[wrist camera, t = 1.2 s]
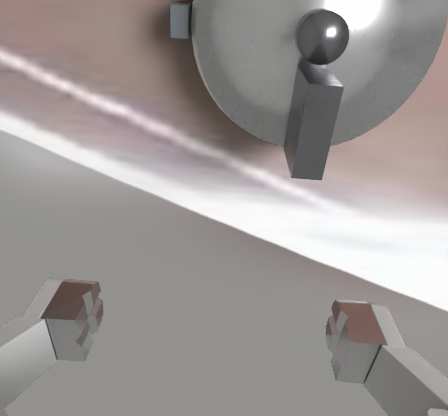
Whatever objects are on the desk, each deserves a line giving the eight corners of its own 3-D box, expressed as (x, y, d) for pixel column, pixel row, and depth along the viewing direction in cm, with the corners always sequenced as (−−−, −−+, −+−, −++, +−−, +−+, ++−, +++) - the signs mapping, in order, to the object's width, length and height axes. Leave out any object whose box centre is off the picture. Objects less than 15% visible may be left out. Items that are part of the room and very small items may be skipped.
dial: (201, -136, 20) (187, -178, 15) (483, -113, 20) (572, -147, 15) (195, 133, 29) (184, 169, 23) (392, 148, 29) (428, 188, 24)
